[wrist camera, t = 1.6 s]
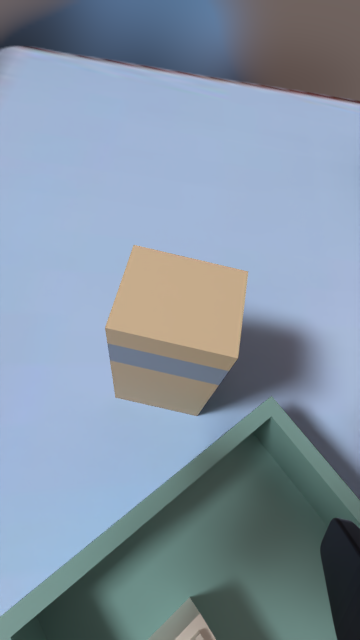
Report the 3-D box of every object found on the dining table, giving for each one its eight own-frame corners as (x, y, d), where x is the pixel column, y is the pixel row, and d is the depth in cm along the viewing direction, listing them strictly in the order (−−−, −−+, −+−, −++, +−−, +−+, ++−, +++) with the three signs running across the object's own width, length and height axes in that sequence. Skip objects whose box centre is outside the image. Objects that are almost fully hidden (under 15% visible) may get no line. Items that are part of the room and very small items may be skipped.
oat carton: (197, 416, 23) (238, 358, 14) (115, 397, 22) (105, 327, 14) (207, 354, 25) (248, 271, 16) (133, 337, 25) (133, 244, 16)
